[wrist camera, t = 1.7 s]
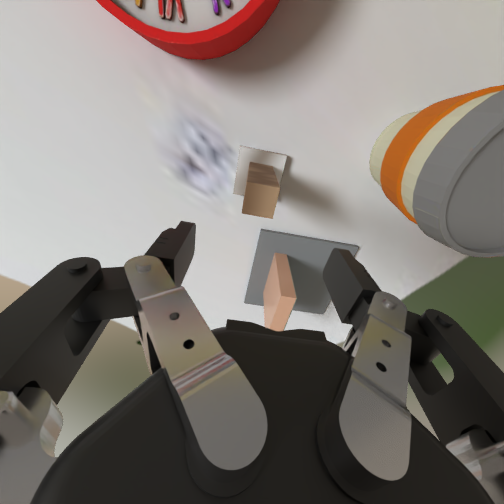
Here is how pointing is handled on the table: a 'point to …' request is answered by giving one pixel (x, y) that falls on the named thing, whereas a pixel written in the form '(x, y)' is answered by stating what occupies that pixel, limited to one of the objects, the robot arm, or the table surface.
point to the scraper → (259, 180)
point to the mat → (294, 268)
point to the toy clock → (193, 23)
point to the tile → (278, 294)
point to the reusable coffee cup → (449, 170)
